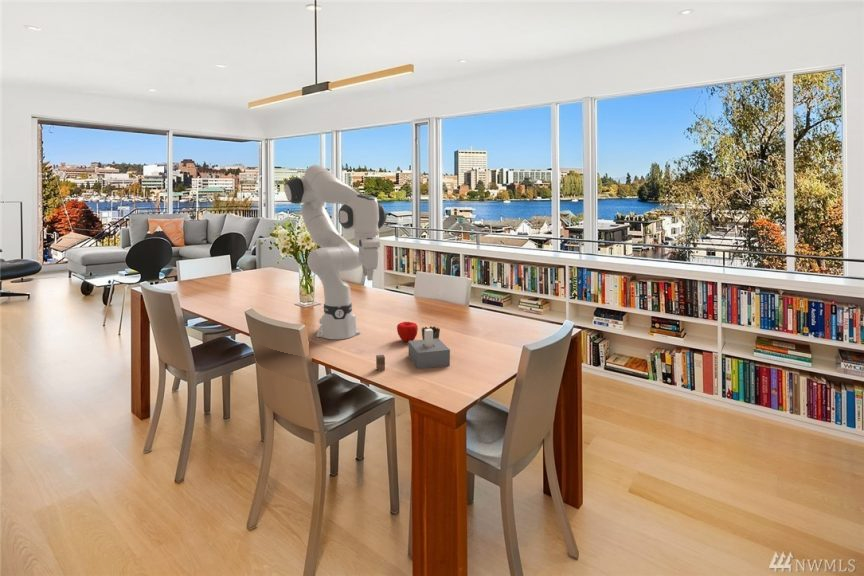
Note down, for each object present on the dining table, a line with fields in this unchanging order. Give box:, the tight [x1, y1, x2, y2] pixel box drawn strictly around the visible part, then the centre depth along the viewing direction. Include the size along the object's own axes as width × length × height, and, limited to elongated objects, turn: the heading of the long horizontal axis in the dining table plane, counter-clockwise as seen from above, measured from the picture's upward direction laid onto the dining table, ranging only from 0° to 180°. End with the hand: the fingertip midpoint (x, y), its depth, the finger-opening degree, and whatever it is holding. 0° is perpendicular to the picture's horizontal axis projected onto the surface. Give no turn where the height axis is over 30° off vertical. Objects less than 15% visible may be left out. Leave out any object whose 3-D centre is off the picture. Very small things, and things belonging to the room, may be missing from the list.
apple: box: [396, 321, 419, 343], centre depth 200 cm, size 9×9×8 cm
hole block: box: [408, 338, 451, 370], centre depth 177 cm, size 14×12×6 cm
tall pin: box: [424, 328, 433, 347], centre depth 177 cm, size 3×3×12 cm
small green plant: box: [421, 325, 441, 340], centre depth 191 cm, size 8×7×8 cm
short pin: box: [375, 354, 386, 372], centre depth 168 cm, size 3×3×5 cm
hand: (367, 277), depth 174 cm, fingers open, 8 cm apart
